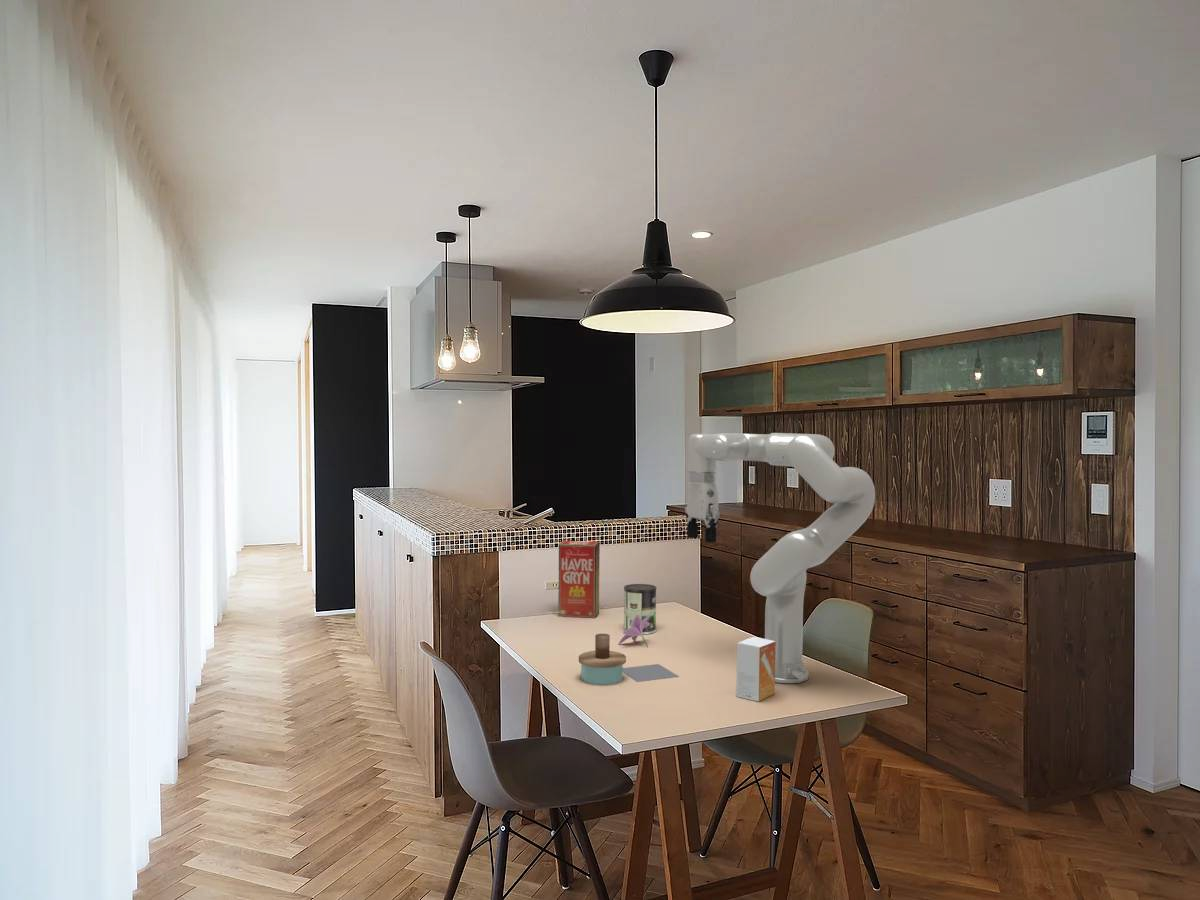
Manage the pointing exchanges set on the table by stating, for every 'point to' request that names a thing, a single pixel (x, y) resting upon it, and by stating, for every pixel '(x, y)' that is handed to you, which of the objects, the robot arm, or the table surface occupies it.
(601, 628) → the table surface
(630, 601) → the coffee can
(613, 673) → the bowl
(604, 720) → the table surface
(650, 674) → the mat
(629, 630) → the lily
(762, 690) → the small box
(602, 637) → the lid
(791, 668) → the robot arm
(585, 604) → the food packaging
